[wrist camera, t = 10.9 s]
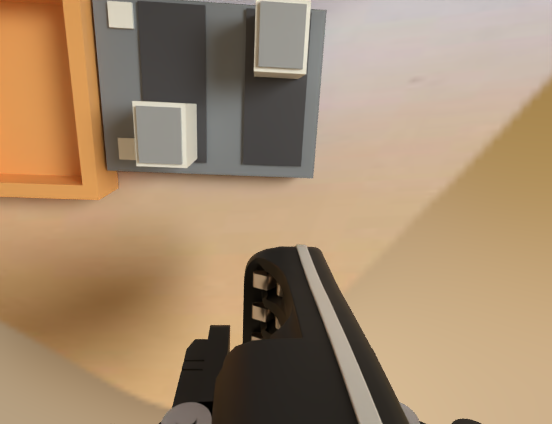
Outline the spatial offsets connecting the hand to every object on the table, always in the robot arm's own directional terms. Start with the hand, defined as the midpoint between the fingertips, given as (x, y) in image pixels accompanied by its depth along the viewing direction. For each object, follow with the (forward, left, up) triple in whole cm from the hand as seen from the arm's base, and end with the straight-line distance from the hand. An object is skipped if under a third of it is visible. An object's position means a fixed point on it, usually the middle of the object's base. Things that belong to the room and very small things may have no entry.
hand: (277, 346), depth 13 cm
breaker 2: (0, +12, -9) cm, 15 cm away
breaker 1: (-6, +7, -9) cm, 13 cm away
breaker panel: (-4, +9, -12) cm, 15 cm away
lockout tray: (-14, +9, -12) cm, 20 cm away
